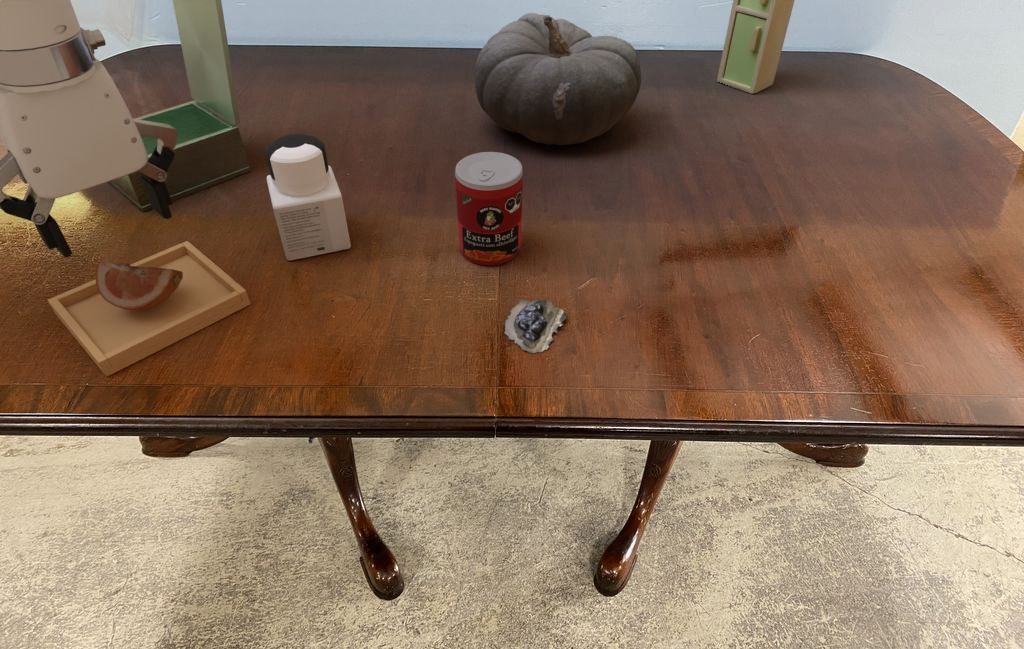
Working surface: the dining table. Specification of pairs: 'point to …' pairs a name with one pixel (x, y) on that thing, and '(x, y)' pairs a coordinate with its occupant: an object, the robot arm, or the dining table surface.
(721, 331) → the dining table surface
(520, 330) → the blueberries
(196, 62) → the bin lid
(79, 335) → the tray
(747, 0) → the toy refrigerator
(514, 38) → the gourd
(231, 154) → the bin
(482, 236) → the canned food
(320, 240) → the container
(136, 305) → the fruit slice
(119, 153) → the robot arm
